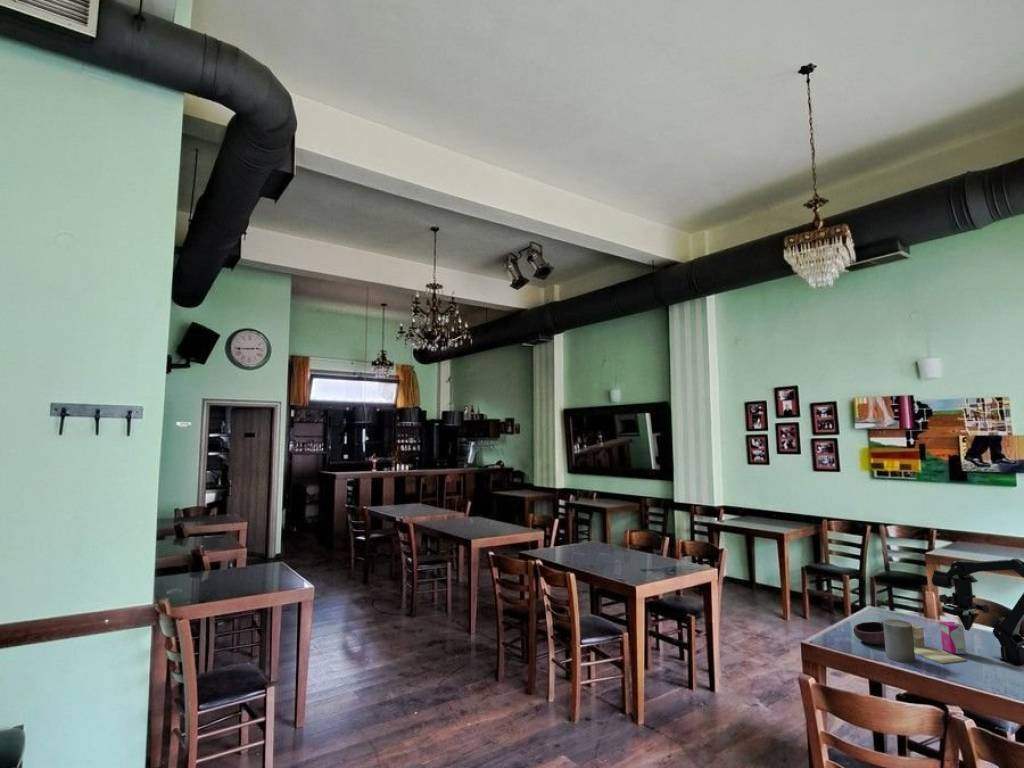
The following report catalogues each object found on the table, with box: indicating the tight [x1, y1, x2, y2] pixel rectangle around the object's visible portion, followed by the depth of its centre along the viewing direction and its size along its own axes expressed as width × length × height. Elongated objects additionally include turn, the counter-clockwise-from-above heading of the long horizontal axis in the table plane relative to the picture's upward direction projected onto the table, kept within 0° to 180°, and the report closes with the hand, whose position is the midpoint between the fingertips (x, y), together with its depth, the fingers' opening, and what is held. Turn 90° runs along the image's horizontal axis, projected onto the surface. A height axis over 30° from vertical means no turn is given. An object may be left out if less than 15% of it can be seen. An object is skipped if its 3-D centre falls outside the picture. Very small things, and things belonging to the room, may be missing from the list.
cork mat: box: [914, 645, 968, 665], centre depth 222 cm, size 15×13×1 cm
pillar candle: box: [882, 618, 916, 663], centre depth 220 cm, size 10×10×15 cm
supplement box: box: [939, 621, 967, 656], centre depth 226 cm, size 6×6×12 cm
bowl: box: [853, 620, 885, 646], centre depth 237 cm, size 16×13×8 cm
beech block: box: [911, 623, 926, 648], centre depth 233 cm, size 4×4×8 cm
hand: (967, 630), depth 228 cm, fingers closed
